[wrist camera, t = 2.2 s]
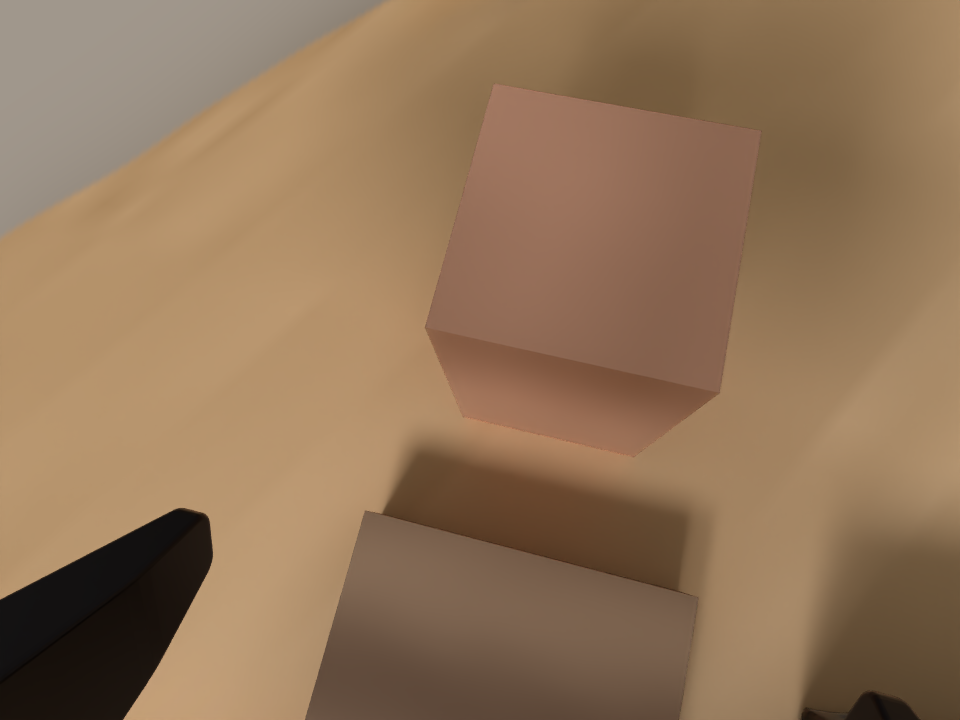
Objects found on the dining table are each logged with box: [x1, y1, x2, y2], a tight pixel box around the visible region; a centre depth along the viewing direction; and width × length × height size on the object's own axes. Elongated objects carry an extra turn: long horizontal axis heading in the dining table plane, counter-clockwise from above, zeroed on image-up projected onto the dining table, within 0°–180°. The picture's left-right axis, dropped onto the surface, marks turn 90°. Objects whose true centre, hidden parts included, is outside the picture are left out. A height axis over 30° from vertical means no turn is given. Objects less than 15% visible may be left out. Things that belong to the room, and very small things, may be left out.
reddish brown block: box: [425, 84, 762, 457], centre depth 19 cm, size 6×6×10 cm
